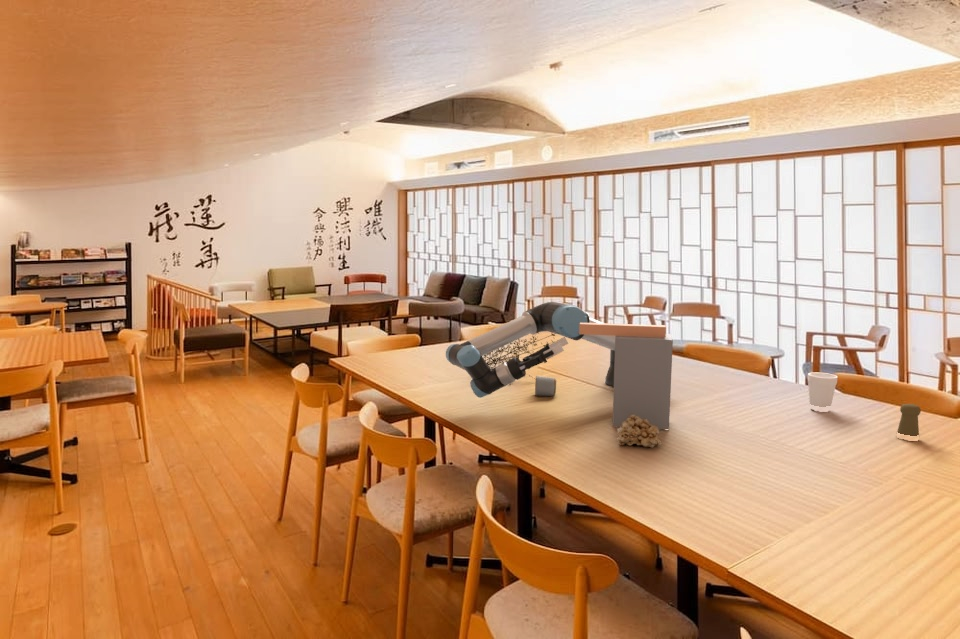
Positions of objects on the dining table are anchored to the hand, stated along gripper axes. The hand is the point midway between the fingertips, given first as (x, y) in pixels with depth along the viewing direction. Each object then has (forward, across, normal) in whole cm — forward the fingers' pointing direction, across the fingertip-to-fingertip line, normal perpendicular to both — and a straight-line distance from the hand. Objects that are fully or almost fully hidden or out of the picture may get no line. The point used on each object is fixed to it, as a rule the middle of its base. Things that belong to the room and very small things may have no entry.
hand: (564, 343), depth 210 cm
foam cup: (+65, -31, -68) cm, 99 cm away
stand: (+10, 0, -36) cm, 37 cm away
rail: (+18, 0, -6) cm, 19 cm away
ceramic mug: (-22, -29, -18) cm, 41 cm away
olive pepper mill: (+80, -4, -77) cm, 111 cm away
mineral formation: (+9, +20, -36) cm, 42 cm away
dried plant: (-35, -57, -11) cm, 68 cm away
